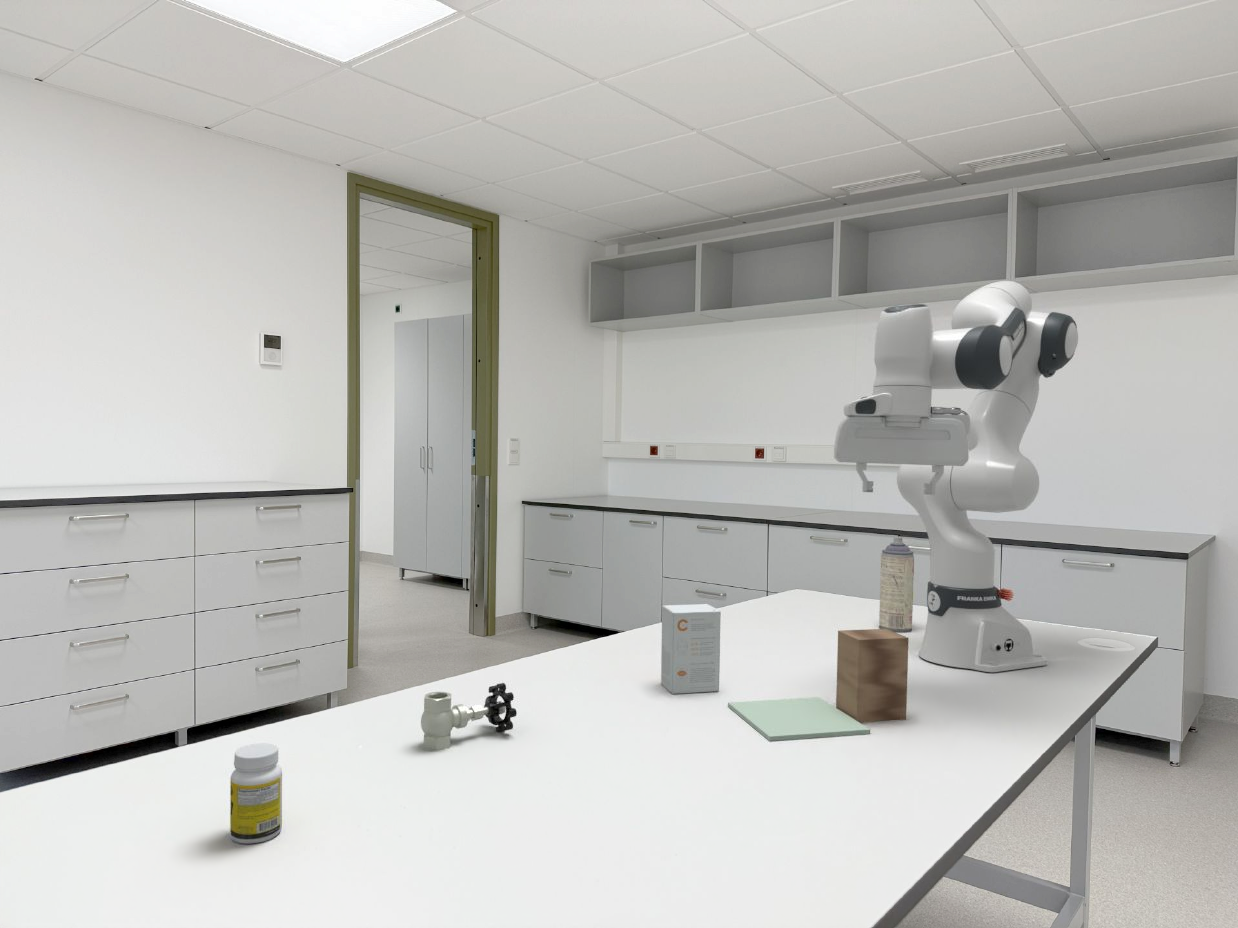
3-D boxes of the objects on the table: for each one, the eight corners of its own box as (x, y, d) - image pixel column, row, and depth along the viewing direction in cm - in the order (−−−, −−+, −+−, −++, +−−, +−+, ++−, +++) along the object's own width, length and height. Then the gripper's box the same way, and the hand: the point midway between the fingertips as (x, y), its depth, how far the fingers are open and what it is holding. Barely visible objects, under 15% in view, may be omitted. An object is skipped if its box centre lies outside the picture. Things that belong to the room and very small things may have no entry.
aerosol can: (918, 631, 182) (921, 539, 182) (889, 632, 181) (892, 539, 180) (900, 624, 189) (903, 535, 188) (873, 625, 187) (875, 535, 187)
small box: (706, 680, 141) (708, 603, 141) (719, 692, 135) (721, 610, 135) (659, 683, 139) (661, 604, 139) (671, 694, 133) (673, 612, 133)
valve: (434, 757, 105) (516, 737, 113) (434, 704, 105) (517, 688, 113) (410, 742, 110) (490, 724, 118) (411, 691, 110) (491, 677, 118)
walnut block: (884, 706, 129) (886, 628, 129) (907, 719, 123) (909, 637, 123) (835, 710, 127) (838, 630, 127) (856, 723, 121) (858, 639, 121)
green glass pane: (818, 700, 131) (818, 696, 131) (870, 733, 117) (870, 729, 117) (727, 706, 128) (728, 702, 128) (769, 740, 113) (769, 736, 113)
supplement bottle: (240, 823, 86) (240, 741, 86) (288, 822, 87) (288, 740, 86) (222, 845, 81) (222, 758, 81) (272, 844, 82) (273, 758, 82)
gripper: (965, 408, 136) (962, 495, 136) (834, 405, 139) (831, 490, 139) (975, 406, 130) (972, 496, 130) (838, 403, 133) (835, 491, 133)
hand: (898, 493), depth 135 cm, fingers open, 8 cm apart
